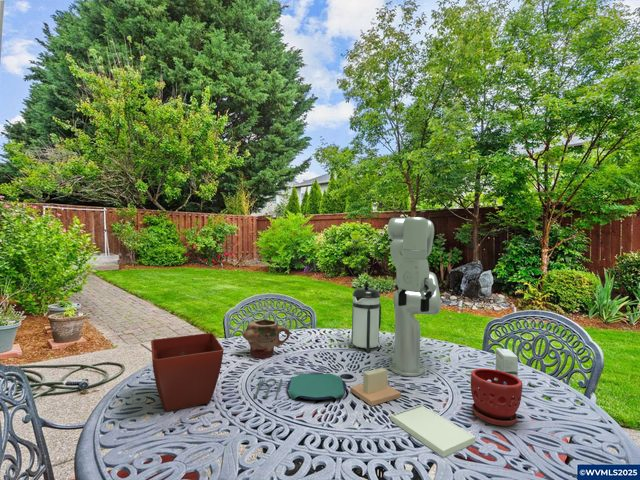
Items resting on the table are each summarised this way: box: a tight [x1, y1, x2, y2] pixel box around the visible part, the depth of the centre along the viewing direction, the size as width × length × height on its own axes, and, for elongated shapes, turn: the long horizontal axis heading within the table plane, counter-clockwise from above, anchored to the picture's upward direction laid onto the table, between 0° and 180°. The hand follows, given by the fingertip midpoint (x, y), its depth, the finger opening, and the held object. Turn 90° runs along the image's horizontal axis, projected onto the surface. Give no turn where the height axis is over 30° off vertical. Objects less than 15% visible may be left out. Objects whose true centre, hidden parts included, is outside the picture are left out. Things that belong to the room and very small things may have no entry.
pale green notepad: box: [389, 404, 477, 458], centre depth 89 cm, size 18×12×2 cm, turn 30°
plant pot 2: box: [470, 368, 523, 426], centre depth 97 cm, size 13×13×12 cm
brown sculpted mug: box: [242, 319, 291, 359], centre depth 143 cm, size 20×12×14 cm, turn 98°
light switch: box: [349, 367, 402, 407], centre depth 109 cm, size 11×12×7 cm
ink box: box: [494, 347, 519, 385], centre depth 118 cm, size 9×5×12 cm, turn 168°
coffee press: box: [348, 282, 382, 354], centre depth 156 cm, size 17×16×30 cm
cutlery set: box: [253, 372, 347, 401], centre depth 112 cm, size 20×30×2 cm, turn 90°
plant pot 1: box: [150, 332, 225, 413], centre depth 103 cm, size 19×19×17 cm
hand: (413, 308), depth 109 cm, fingers open, 9 cm apart
